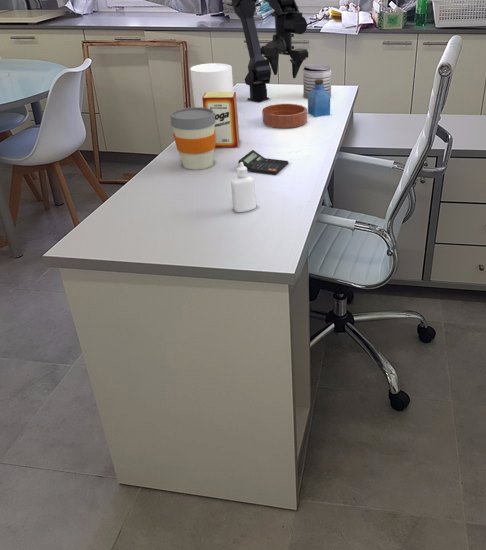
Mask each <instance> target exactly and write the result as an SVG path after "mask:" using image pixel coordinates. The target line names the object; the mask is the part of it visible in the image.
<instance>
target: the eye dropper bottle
mask: <svg viewBox="0 0 486 550" xmlns="http://www.w3.org/2000/svg"><path fill="white" fill-rule="evenodd" d="M230 187H231V198H232V209H233V211H234V212H236V213H246V212H249V211H252V210H254V209H256V208H257V197H256V196H257V195H256V183H255V179H254V177H252V176H251V175H248V169H247V167H245V166H244V164H243V162H240V164H239V166H238V167H236V177H235V178H233V179H232V180H231V185H230Z"/></svg>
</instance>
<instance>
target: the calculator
mask: <svg viewBox="0 0 486 550" xmlns="http://www.w3.org/2000/svg"><path fill="white" fill-rule="evenodd" d="M240 162H243V164H244V166H245V167H247V171H250V172H251V173H257V174H265V175H272V176H276V175H278V174H279V173H280V172H281V171H282V170H284V168H285V167H286V166H287V165H289V161H288V160H284V159H276V158H269V157H268V158H266V157H264V156H263V155H261V154H260V153H258V152H257V151H255V150H253V149H252V150H250V151H249V152H248V153H247V154H246V155H244V156H243V157H241V158H240V159H239V160H238V162H237V163H238V164H239V165H240Z"/></svg>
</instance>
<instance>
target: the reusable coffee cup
mask: <svg viewBox="0 0 486 550" xmlns="http://www.w3.org/2000/svg"><path fill="white" fill-rule="evenodd" d="M215 122H216V121H215V116H214V111H213V110H211V109H209V108H202V107H195V106H193V107H184V108H180V109H176V110H174V111H172V112H171V113H170V126H171V127H172V130H173V139H174V142H175V143H174V144H175V146H176V150H177V151H178V153H179V156H180V159H181V163H182V166H183V168H186V169H187V170H204V169H208V168H210V167H213V165H214V161H215V160H214V159H215V158H214V157H215V155H214V154H215V149H216V148H215V141H216V131H215V130H214V125H215Z"/></svg>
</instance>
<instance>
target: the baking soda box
mask: <svg viewBox="0 0 486 550" xmlns="http://www.w3.org/2000/svg"><path fill="white" fill-rule="evenodd" d="M202 100H203V108H209V109H211V110H213V111H214V116H215V121H216V122H215V125H214V130H215V131H216V141H215V148H214V149H220V148H221V149H222V148H223V149H224V148H225V149H227V148H238V147H239V144H240V132H239V131H240V129H239V118H238V104H237V91H233V92H220V91H216V92H205V94H204V96H203V97H202Z"/></svg>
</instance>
